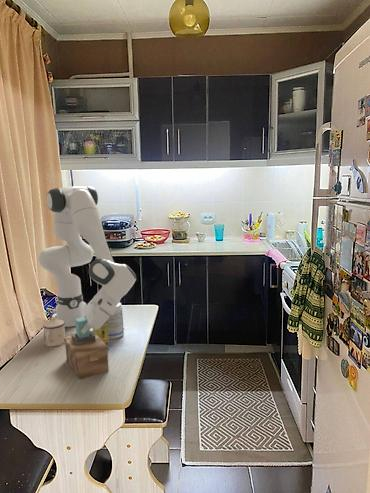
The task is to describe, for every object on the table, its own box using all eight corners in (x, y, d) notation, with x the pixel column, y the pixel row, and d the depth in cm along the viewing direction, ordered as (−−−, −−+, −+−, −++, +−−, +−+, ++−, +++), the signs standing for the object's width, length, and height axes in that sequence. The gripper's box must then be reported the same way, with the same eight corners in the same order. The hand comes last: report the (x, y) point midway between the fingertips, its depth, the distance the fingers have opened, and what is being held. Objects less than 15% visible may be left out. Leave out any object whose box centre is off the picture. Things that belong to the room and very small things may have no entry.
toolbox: (65, 359, 165) (62, 332, 163) (94, 352, 171) (92, 326, 169) (79, 380, 149) (76, 350, 146) (110, 371, 154) (108, 342, 152)
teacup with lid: (50, 338, 187) (47, 313, 185) (69, 338, 186) (67, 313, 184) (38, 349, 176) (35, 323, 173) (58, 350, 174) (56, 323, 172)
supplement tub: (127, 335, 187) (125, 304, 184) (109, 341, 181) (107, 309, 179) (117, 329, 195) (115, 299, 192) (98, 335, 189) (96, 304, 186)
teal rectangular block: (77, 339, 161) (75, 318, 159) (87, 337, 162) (85, 316, 161) (80, 343, 157) (78, 321, 156) (90, 340, 159) (88, 319, 158)
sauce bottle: (105, 348, 174) (102, 303, 171) (91, 347, 176) (88, 303, 172) (111, 342, 181) (108, 298, 177) (97, 341, 182) (94, 298, 178)
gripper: (94, 289, 169) (72, 316, 167) (102, 304, 150) (77, 334, 148) (106, 298, 171) (84, 324, 170) (115, 314, 152) (90, 343, 151)
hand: (81, 329), depth 159 cm, fingers closed on teal rectangular block, 4 cm apart
